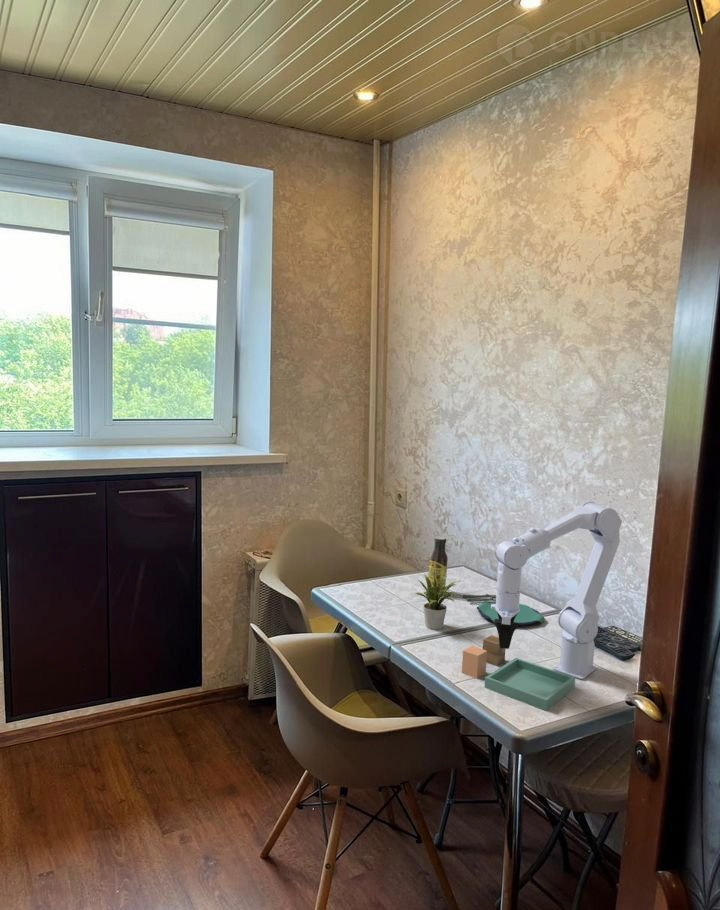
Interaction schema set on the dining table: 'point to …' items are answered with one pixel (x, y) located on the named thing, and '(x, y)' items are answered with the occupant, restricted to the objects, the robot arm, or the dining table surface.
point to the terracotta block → (474, 662)
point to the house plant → (435, 602)
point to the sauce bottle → (438, 561)
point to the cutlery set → (522, 618)
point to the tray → (530, 683)
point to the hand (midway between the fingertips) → (504, 641)
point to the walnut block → (493, 650)
